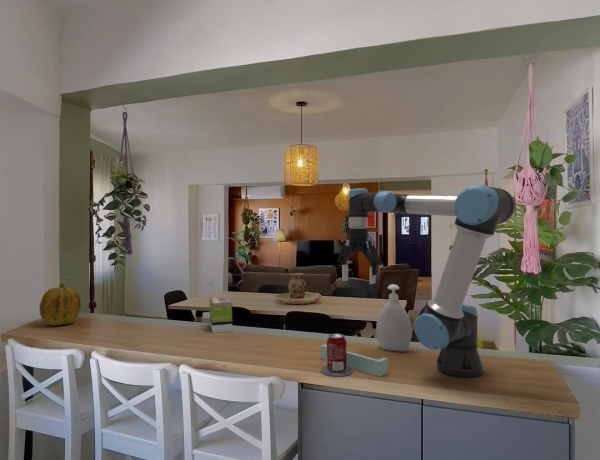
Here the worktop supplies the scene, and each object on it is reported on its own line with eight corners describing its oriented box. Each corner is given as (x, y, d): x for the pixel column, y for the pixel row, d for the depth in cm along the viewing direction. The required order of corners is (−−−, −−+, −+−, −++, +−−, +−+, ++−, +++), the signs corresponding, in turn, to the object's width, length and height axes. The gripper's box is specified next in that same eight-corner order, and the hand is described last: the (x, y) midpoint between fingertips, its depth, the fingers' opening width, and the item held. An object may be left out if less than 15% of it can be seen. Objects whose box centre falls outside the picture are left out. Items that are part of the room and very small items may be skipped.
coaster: (358, 371, 140) (358, 370, 140) (337, 379, 133) (337, 378, 133) (335, 364, 148) (335, 362, 148) (314, 371, 141) (314, 369, 141)
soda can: (345, 374, 136) (345, 338, 137) (325, 372, 138) (325, 337, 138) (347, 367, 143) (347, 333, 143) (328, 366, 144) (328, 332, 145)
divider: (387, 373, 138) (387, 358, 138) (379, 376, 135) (379, 361, 135) (329, 355, 158) (329, 343, 158) (320, 358, 155) (320, 345, 155)
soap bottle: (414, 349, 167) (413, 283, 167) (409, 354, 160) (409, 286, 160) (379, 344, 174) (379, 282, 174) (374, 349, 166) (373, 284, 167)
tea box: (209, 326, 209) (209, 297, 209) (228, 325, 212) (228, 296, 212) (211, 333, 195) (211, 302, 195) (232, 331, 198) (232, 301, 198)
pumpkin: (76, 319, 227) (76, 274, 227) (84, 325, 212) (84, 277, 213) (37, 324, 215) (37, 277, 215) (42, 330, 200) (42, 280, 201)
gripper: (390, 227, 153) (390, 284, 152) (340, 228, 171) (340, 278, 170) (378, 227, 147) (379, 286, 147) (328, 228, 165) (328, 280, 165)
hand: (358, 282), depth 159 cm, fingers open, 13 cm apart
